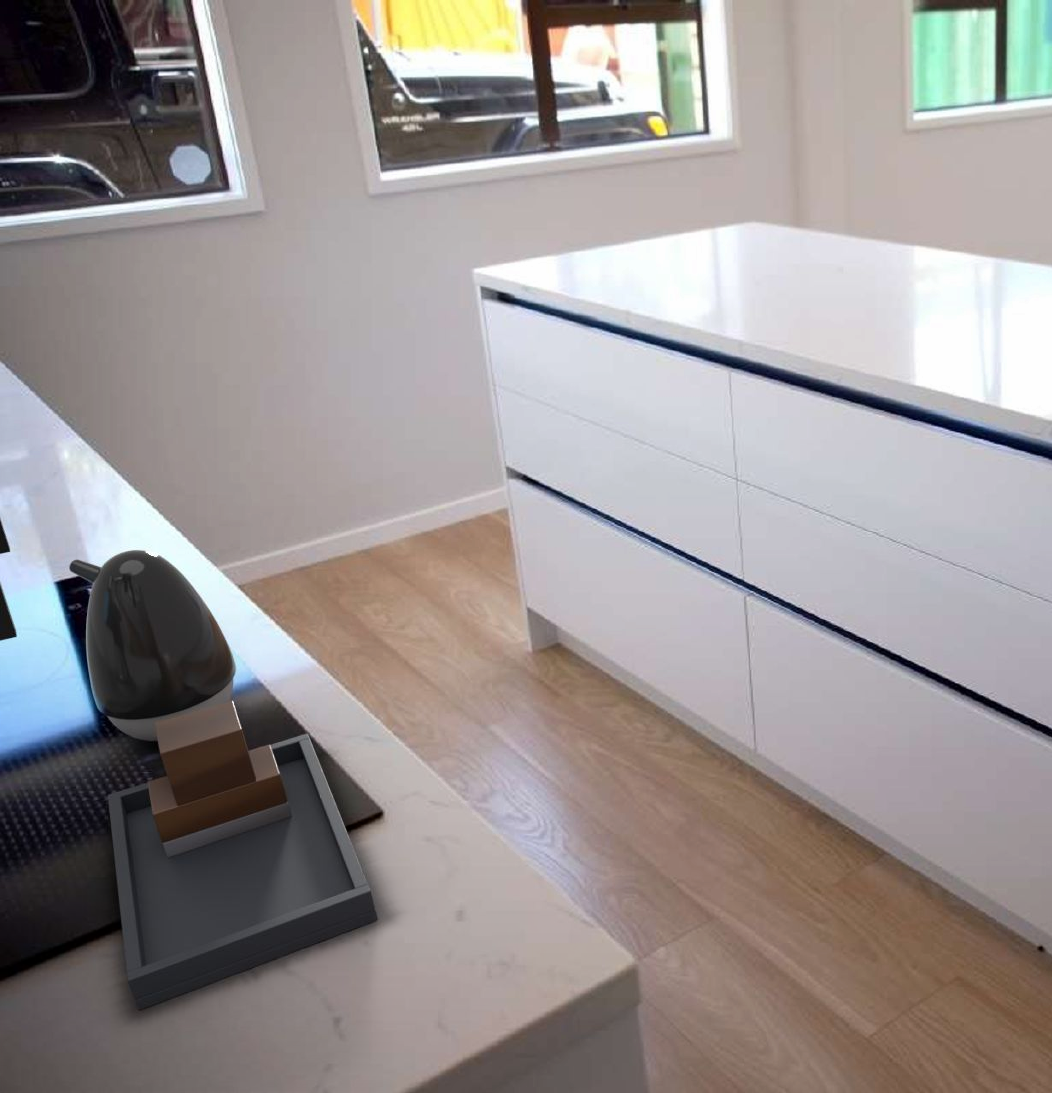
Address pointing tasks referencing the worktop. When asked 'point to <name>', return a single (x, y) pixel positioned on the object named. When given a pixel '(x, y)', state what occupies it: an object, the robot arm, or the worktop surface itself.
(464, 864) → the worktop surface
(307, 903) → the tray
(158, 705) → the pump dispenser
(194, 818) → the brown t-shaped block
